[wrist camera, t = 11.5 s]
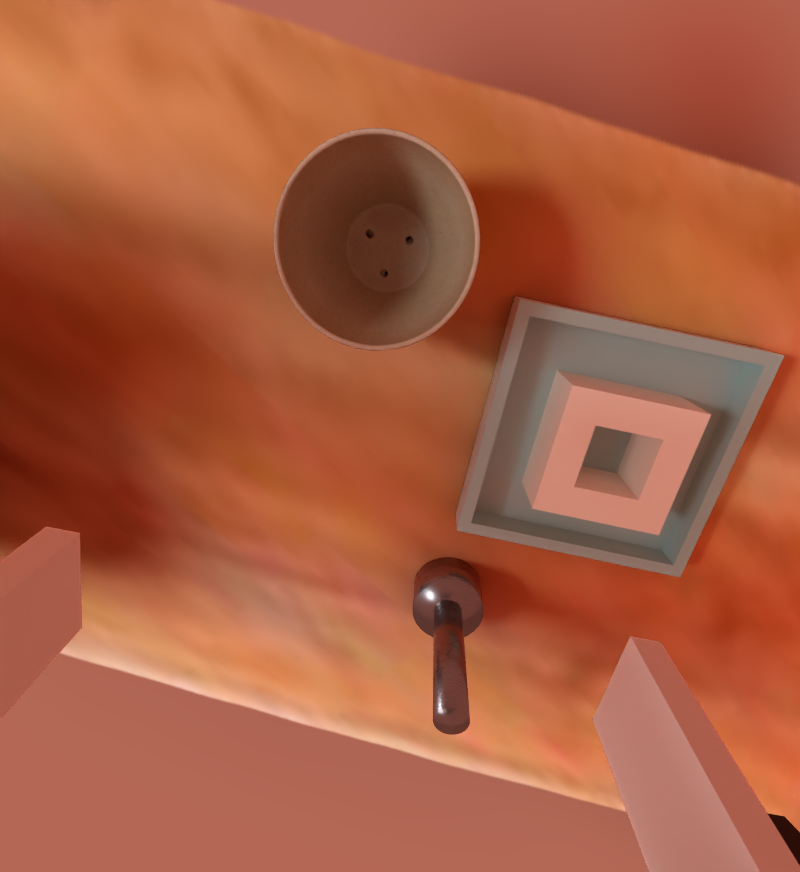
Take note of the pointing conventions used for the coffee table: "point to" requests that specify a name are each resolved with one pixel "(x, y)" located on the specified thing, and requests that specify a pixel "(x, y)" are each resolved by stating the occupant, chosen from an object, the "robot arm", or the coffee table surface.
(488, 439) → the tray
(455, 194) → the flower pot
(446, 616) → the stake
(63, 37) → the coffee table surface
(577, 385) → the ring
